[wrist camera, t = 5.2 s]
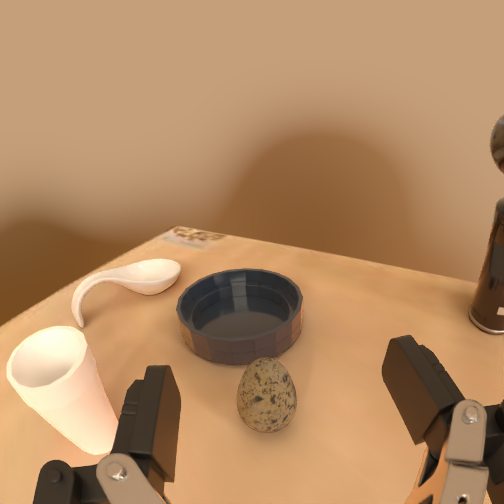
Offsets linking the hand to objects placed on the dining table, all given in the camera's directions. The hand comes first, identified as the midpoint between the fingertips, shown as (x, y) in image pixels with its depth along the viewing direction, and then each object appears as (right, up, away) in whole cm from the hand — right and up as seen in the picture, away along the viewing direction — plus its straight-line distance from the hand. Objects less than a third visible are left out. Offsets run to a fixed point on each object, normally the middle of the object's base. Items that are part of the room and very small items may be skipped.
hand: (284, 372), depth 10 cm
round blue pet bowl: (-3, -7, +35) cm, 36 cm away
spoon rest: (-24, -5, +43) cm, 50 cm away
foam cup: (-19, -17, +16) cm, 30 cm away
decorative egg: (+1, -14, +19) cm, 24 cm away
